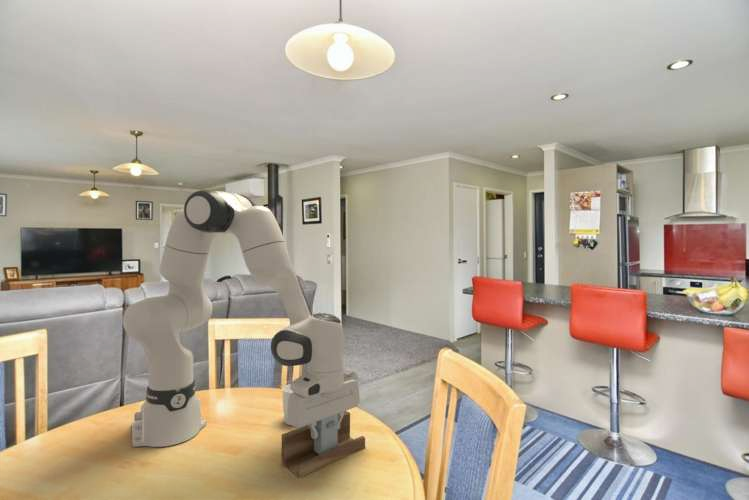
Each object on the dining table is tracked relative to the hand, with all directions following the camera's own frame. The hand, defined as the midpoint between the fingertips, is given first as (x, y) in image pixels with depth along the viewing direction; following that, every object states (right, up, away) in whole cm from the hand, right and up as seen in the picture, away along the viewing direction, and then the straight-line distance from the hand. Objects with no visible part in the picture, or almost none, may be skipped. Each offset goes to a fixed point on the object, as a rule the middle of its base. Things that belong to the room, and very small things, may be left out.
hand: (325, 433), depth 98 cm
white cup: (-11, -6, +19) cm, 23 cm away
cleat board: (0, -6, 0) cm, 6 cm away
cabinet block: (0, -4, 0) cm, 4 cm away
